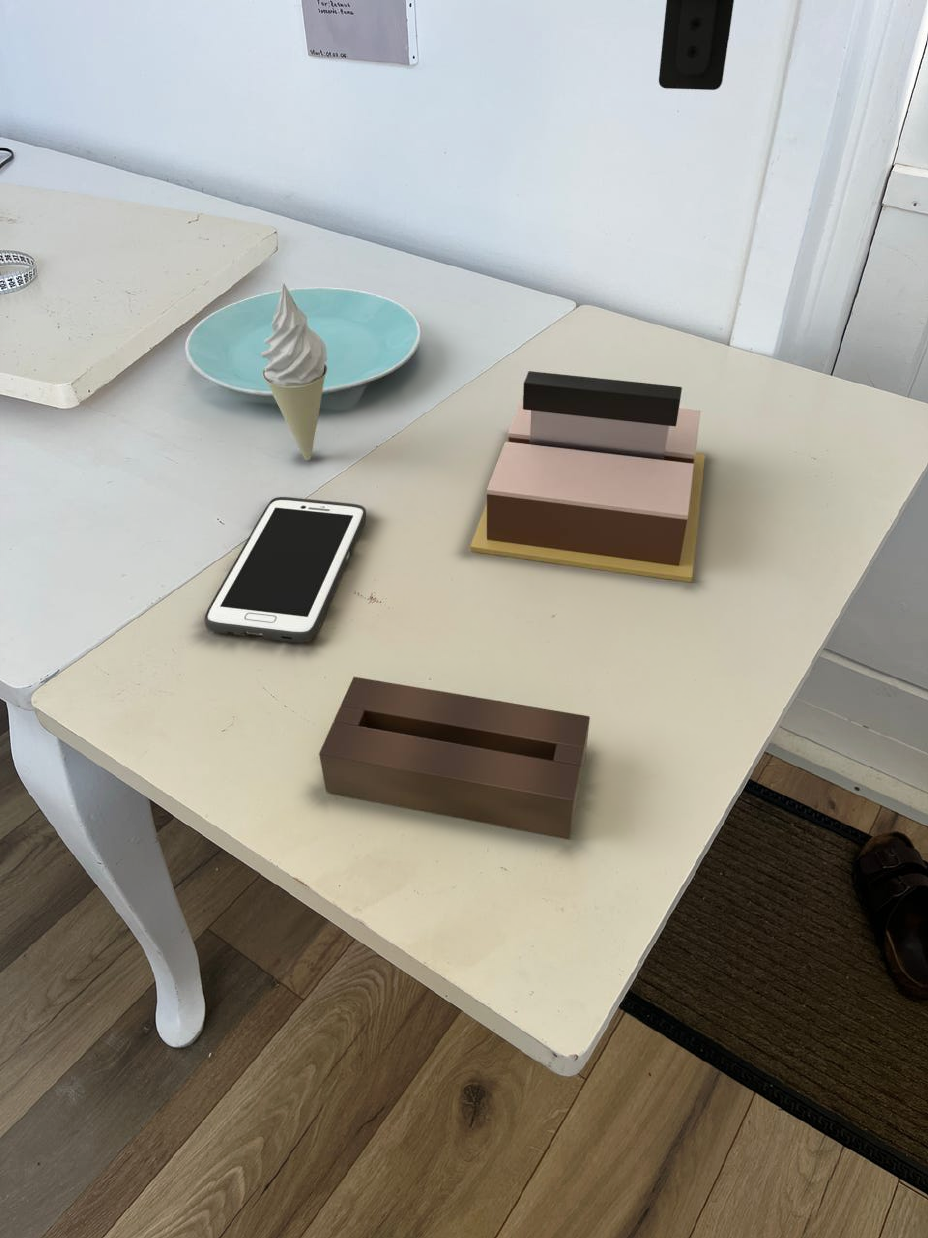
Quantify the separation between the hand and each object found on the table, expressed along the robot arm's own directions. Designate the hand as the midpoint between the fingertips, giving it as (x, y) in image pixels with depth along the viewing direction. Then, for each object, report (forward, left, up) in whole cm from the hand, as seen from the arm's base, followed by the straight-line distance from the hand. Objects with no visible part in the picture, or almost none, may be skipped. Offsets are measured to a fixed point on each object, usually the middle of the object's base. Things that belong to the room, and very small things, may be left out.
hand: (695, 64), depth 53 cm
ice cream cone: (+27, -1, -31) cm, 41 cm away
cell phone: (+23, +13, -30) cm, 40 cm away
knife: (+4, 0, -30) cm, 30 cm away
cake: (+3, 0, -30) cm, 31 cm away
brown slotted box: (+7, +28, -30) cm, 42 cm away
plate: (+33, -17, -31) cm, 48 cm away
